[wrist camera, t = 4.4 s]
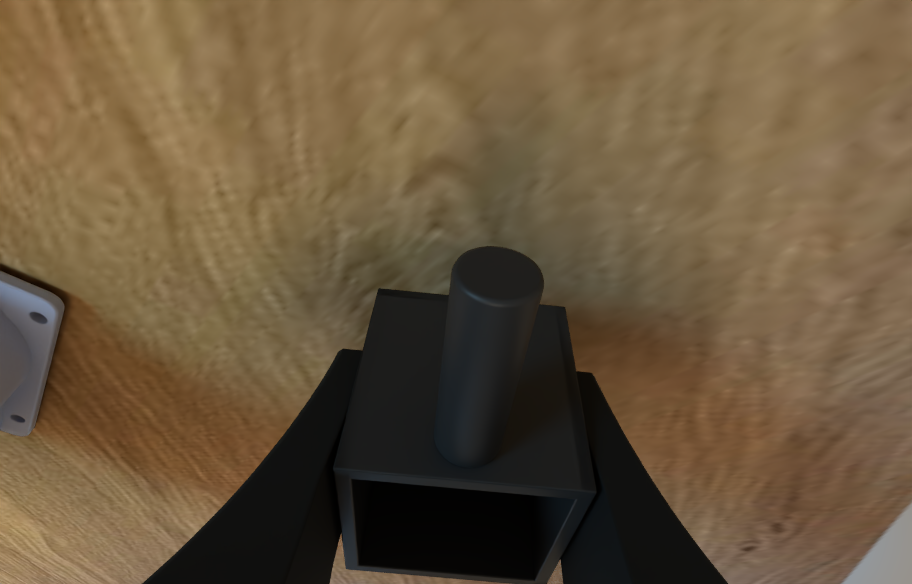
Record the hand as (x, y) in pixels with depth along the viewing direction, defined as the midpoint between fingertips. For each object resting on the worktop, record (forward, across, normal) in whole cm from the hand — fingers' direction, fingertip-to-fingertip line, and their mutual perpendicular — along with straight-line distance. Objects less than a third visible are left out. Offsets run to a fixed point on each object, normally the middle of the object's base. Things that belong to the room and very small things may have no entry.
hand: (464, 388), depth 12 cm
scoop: (+1, 0, -1) cm, 2 cm away
